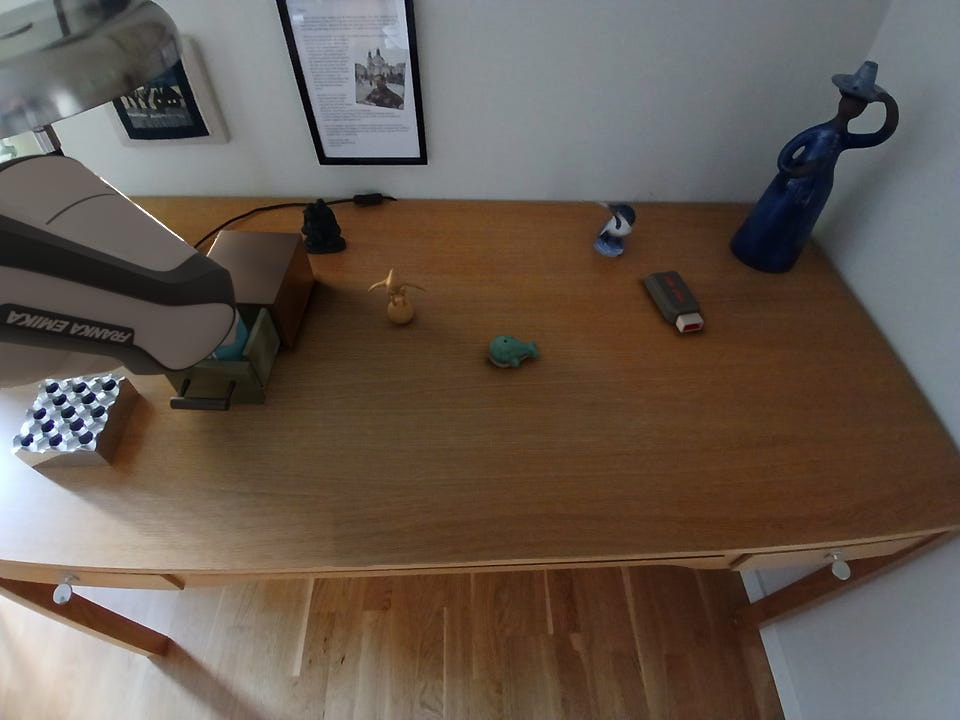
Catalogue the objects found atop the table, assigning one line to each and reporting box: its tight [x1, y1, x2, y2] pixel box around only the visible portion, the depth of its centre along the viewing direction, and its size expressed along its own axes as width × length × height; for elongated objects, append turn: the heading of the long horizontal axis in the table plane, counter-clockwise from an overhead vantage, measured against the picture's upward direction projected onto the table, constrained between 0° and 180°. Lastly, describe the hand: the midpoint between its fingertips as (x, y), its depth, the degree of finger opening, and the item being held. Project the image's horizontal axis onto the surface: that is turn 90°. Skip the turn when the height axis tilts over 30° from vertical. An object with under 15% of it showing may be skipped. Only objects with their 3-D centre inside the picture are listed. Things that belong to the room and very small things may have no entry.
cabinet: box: [206, 229, 316, 350], centre depth 85 cm, size 16×13×10 cm
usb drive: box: [644, 270, 705, 333], centre depth 90 cm, size 5×12×3 cm, turn 13°
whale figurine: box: [488, 334, 540, 368], centre depth 82 cm, size 6×7×4 cm
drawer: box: [163, 306, 282, 412], centre depth 77 cm, size 19×11×8 cm, turn 177°
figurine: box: [367, 268, 426, 324], centre depth 83 cm, size 8×6×12 cm
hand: (170, 322), depth 64 cm, fingers open, 8 cm apart
